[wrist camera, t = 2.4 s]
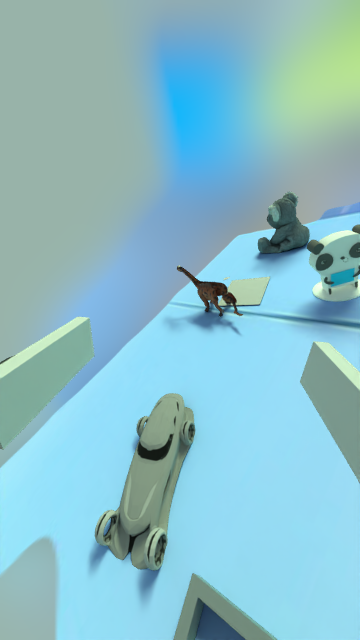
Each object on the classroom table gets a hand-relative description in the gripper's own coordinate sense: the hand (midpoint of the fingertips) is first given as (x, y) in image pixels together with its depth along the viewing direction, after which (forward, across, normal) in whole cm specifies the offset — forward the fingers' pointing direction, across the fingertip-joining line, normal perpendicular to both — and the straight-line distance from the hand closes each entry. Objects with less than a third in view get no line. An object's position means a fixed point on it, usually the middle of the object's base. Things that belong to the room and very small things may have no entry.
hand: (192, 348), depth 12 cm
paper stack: (+67, +11, -12) cm, 69 cm away
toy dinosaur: (+57, +4, -17) cm, 59 cm away
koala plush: (+89, +32, +3) cm, 95 cm away
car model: (+13, -5, -32) cm, 35 cm away
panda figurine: (+49, +35, -6) cm, 60 cm away
